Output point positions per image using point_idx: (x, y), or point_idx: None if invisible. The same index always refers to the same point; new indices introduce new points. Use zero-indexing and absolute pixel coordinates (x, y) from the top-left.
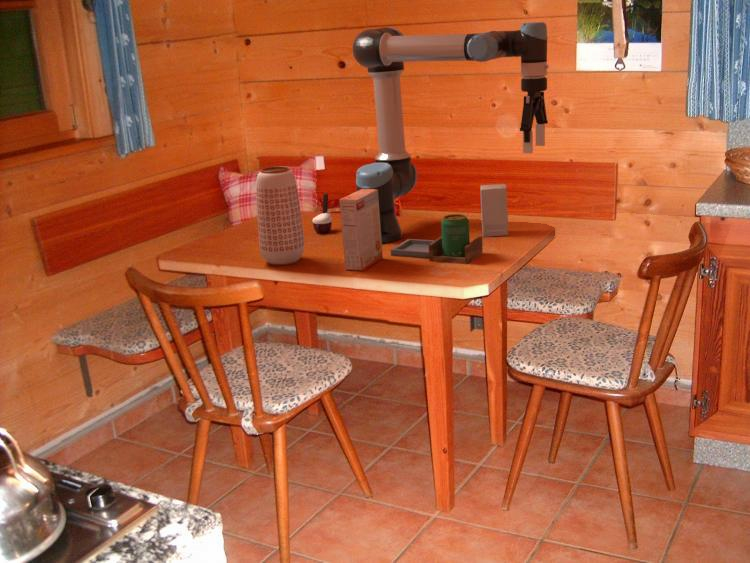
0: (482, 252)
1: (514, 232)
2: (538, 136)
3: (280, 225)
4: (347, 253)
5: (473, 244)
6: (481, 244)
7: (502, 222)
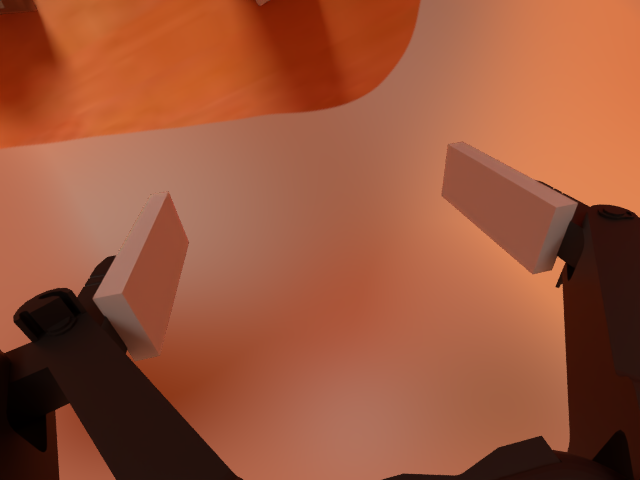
0: (35, 10)
1: (303, 9)
2: (479, 187)
3: None
4: None
5: None
6: (10, 10)
7: None
